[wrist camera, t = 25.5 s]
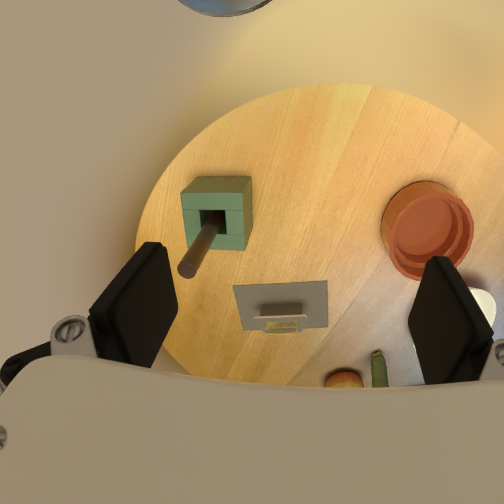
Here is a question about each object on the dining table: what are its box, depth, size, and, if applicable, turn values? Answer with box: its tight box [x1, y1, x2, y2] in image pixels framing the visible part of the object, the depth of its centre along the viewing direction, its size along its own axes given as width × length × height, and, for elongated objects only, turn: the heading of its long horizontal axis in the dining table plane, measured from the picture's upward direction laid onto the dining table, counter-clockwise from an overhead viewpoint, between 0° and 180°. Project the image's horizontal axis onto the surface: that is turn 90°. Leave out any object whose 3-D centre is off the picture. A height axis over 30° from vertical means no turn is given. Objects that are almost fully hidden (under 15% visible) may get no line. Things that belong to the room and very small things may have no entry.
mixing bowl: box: [381, 181, 474, 281], centre depth 45 cm, size 16×16×6 cm
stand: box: [180, 177, 253, 251], centre depth 47 cm, size 9×9×8 cm
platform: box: [233, 281, 328, 335], centre depth 58 cm, size 12×18×7 cm, turn 100°
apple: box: [324, 372, 364, 388], centre depth 66 cm, size 10×10×8 cm
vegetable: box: [371, 351, 389, 388], centre depth 55 cm, size 4×4×20 cm
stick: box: [177, 210, 226, 279], centre depth 43 cm, size 2×2×20 cm
